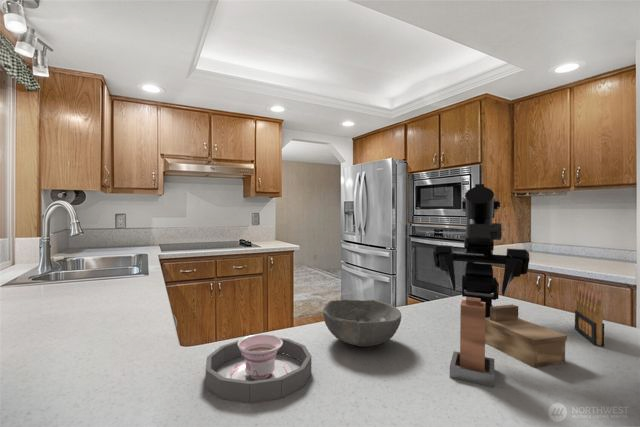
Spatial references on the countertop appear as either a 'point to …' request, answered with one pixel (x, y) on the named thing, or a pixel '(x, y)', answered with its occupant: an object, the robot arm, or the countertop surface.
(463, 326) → the reddish brown rectangular block
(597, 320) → the ammunition clip
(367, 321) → the bowl
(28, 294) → the countertop surface
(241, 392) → the coaster ring
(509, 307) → the lid
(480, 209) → the robot arm
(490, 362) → the frame
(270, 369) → the teacup
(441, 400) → the countertop surface
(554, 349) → the light brown wooden box
